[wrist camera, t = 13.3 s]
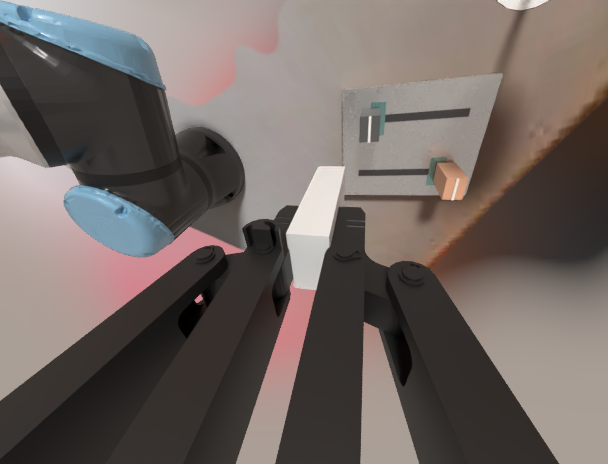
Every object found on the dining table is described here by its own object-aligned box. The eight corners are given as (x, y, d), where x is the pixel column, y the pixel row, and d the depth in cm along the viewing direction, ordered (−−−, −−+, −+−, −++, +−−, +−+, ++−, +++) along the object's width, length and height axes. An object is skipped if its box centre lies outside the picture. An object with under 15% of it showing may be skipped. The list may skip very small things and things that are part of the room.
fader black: (361, 131, 35) (359, 143, 30) (361, 109, 33) (359, 117, 28) (378, 130, 34) (378, 142, 29) (379, 107, 32) (380, 115, 27)
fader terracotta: (432, 181, 36) (442, 200, 31) (437, 162, 35) (447, 179, 30) (450, 181, 36) (462, 200, 31) (455, 162, 34) (469, 178, 29)
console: (344, 189, 43) (343, 195, 41) (343, 89, 34) (342, 90, 32) (461, 190, 38) (465, 195, 37) (496, 72, 29) (503, 73, 28)
